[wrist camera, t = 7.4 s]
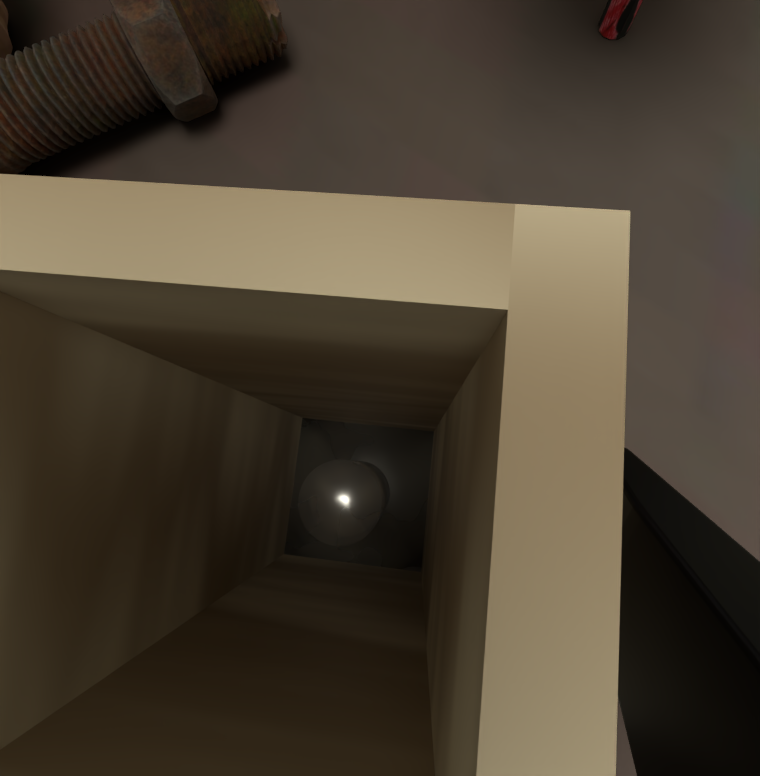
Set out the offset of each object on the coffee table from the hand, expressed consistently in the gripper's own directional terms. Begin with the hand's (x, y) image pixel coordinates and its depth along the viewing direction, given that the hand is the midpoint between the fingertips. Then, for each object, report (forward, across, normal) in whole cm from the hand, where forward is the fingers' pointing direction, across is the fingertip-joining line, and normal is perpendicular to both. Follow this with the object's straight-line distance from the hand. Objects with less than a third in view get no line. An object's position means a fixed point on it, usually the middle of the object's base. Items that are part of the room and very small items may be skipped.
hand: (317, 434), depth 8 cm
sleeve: (+4, 0, +6) cm, 8 cm away
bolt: (+16, +12, -2) cm, 20 cm away
